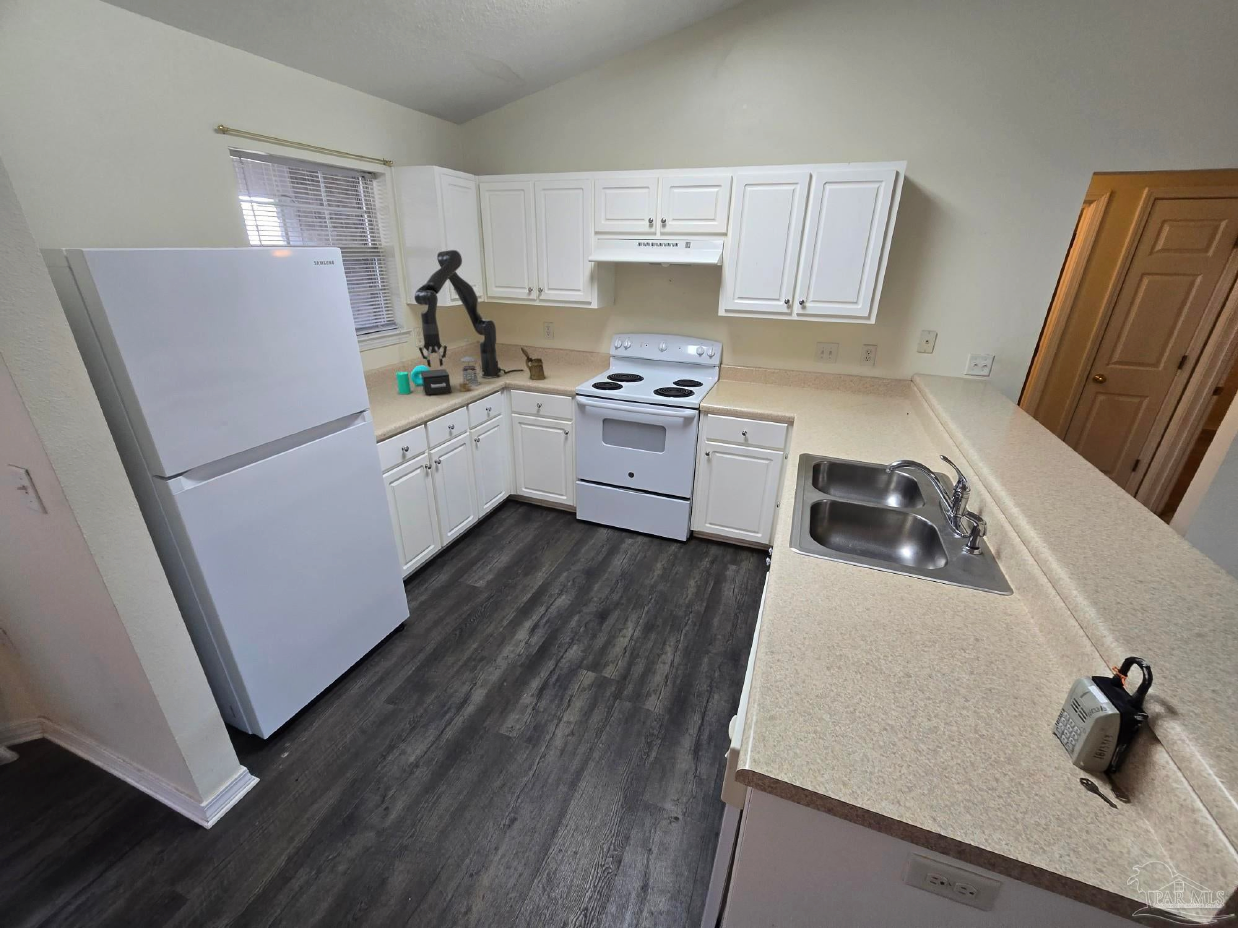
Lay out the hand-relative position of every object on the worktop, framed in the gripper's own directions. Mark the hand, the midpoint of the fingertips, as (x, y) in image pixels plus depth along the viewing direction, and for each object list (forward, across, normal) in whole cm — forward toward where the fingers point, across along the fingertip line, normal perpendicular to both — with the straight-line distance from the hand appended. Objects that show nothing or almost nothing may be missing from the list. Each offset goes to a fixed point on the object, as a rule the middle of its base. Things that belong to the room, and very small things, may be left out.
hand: (435, 366), depth 260 cm
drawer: (+14, 0, -6) cm, 16 cm away
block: (+15, -14, -6) cm, 22 cm away
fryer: (+15, 0, -11) cm, 19 cm away
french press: (+16, -20, -19) cm, 31 cm away
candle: (+16, +16, -14) cm, 26 cm away
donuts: (+16, +6, -29) cm, 33 cm away
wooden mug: (+16, -56, -19) cm, 61 cm away
